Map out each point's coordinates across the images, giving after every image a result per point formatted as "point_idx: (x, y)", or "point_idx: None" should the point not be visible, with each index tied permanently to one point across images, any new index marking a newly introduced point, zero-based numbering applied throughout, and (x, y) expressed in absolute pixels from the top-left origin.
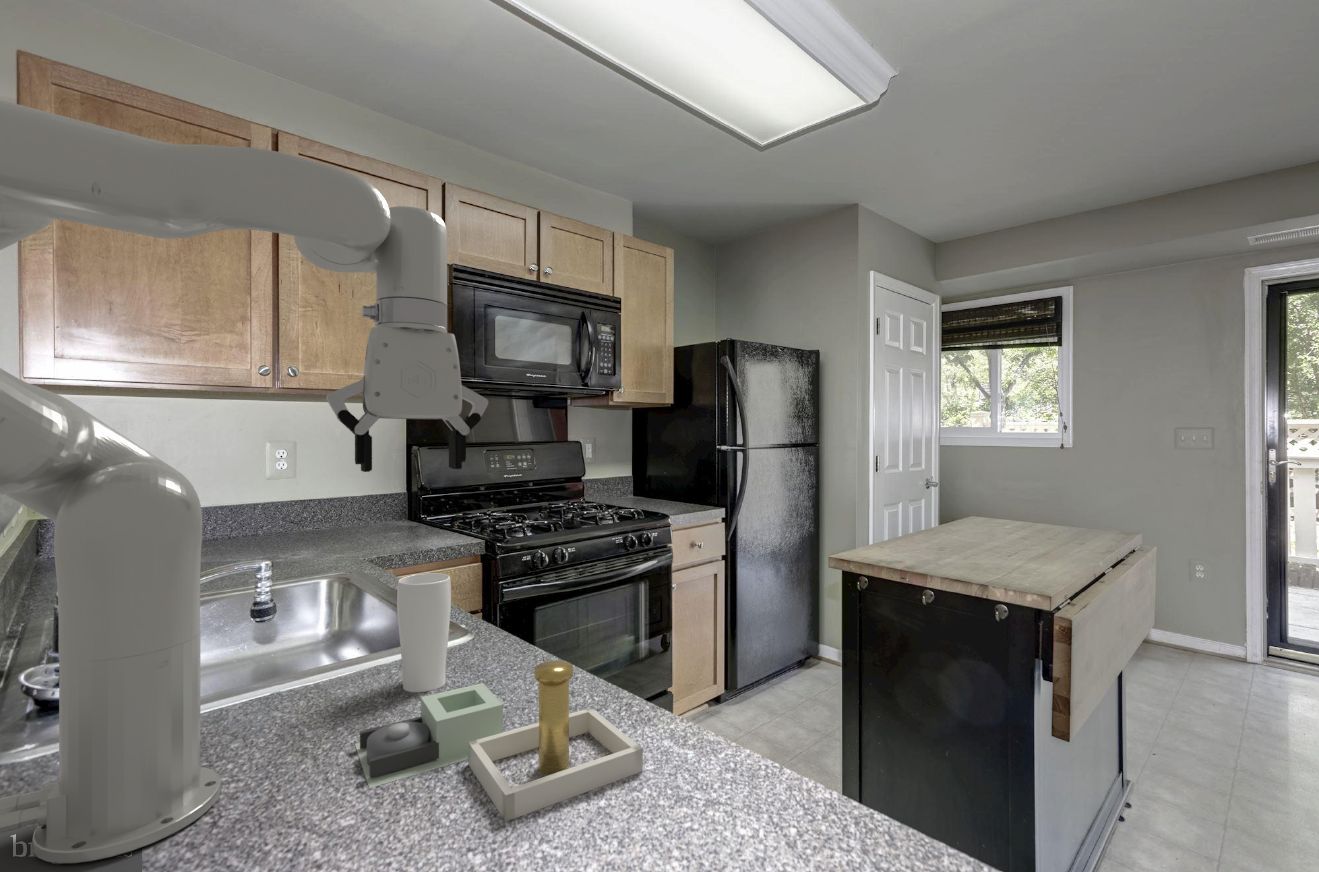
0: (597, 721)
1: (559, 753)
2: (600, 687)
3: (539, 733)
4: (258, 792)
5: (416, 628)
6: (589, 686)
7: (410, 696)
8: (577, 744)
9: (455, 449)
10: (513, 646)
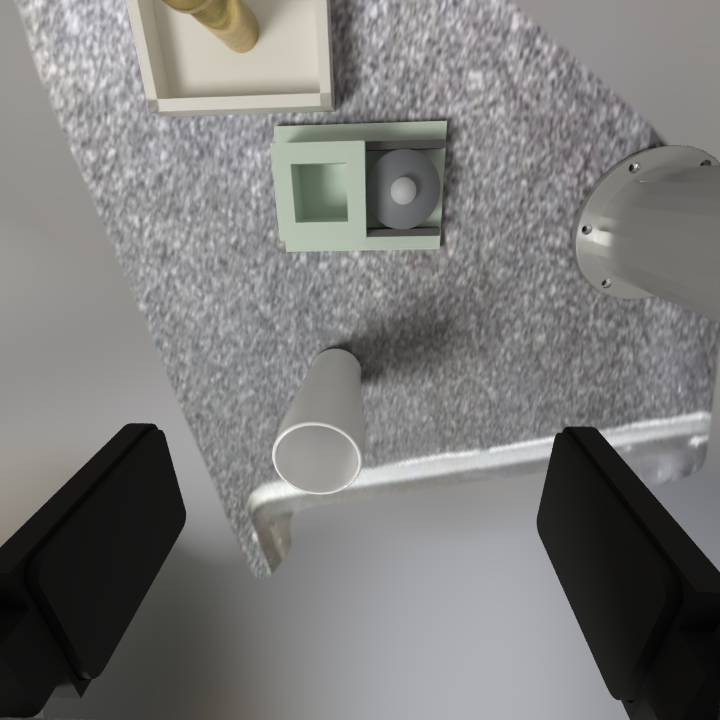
0: (151, 64)
1: None
2: (122, 251)
3: (242, 8)
4: (540, 208)
5: (343, 388)
6: (136, 263)
7: None
8: None
9: (100, 492)
10: (207, 442)
